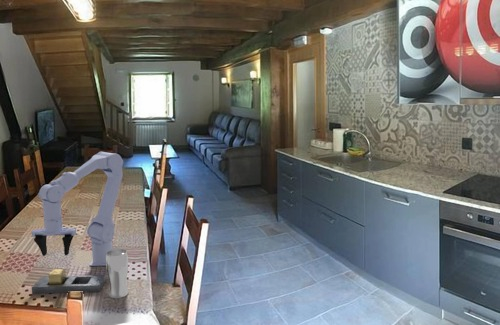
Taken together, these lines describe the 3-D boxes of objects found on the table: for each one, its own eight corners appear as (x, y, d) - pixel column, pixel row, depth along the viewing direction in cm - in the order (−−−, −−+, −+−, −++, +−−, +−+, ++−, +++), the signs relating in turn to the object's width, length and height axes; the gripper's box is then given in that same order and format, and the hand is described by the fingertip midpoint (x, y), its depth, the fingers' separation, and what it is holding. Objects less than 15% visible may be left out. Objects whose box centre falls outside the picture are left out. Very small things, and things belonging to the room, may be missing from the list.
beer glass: (107, 291, 136) (105, 249, 134) (128, 287, 139) (126, 246, 136) (108, 301, 130) (105, 257, 127) (130, 297, 132) (128, 254, 130)
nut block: (54, 285, 140) (53, 269, 139) (66, 285, 140) (65, 269, 139) (49, 291, 136) (48, 274, 135) (61, 290, 136) (60, 274, 135)
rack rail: (42, 282, 142) (42, 276, 141) (105, 281, 144) (105, 274, 143) (32, 293, 134) (31, 287, 134) (99, 291, 136) (98, 285, 135)
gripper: (26, 222, 137) (29, 259, 139) (69, 221, 138) (72, 258, 140) (35, 216, 143) (38, 251, 146) (77, 215, 145) (79, 250, 147)
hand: (55, 254), depth 143 cm, fingers open, 7 cm apart
